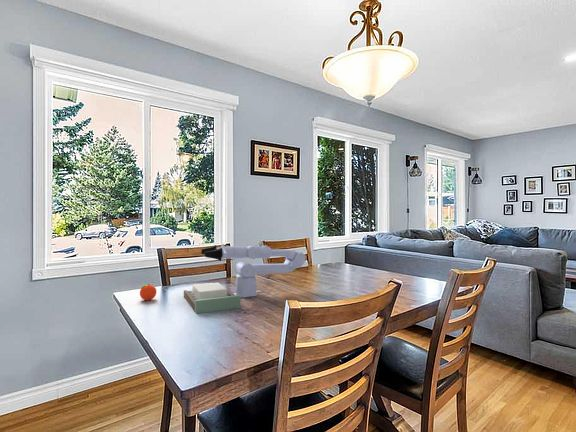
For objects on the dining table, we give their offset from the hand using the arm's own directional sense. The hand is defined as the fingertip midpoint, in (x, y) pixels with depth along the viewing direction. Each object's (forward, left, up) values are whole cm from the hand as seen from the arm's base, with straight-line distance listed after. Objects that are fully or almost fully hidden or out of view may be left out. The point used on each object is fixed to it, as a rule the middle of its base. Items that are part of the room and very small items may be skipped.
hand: (203, 253), depth 149 cm
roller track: (-2, +4, -21) cm, 22 cm away
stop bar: (-2, +17, -21) cm, 28 cm away
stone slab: (-2, +3, -18) cm, 18 cm away
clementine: (+23, -9, -22) cm, 33 cm away
